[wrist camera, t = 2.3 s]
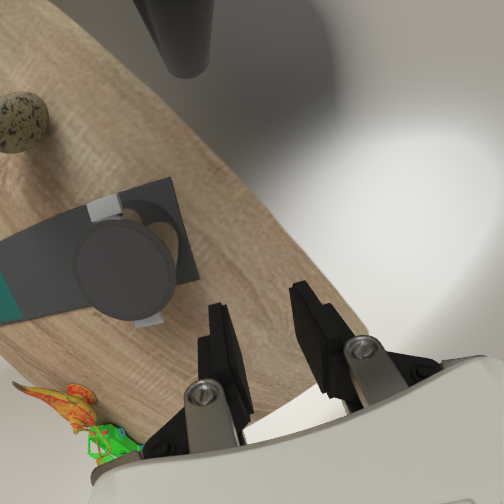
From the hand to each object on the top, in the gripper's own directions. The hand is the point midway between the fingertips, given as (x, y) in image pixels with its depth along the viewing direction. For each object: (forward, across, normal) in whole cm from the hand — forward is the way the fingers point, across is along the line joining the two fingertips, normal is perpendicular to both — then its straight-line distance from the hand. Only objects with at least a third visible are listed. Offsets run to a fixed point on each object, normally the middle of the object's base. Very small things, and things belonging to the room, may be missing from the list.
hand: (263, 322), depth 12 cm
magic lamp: (+17, +30, +19) cm, 40 cm away
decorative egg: (+17, +17, -16) cm, 29 cm away
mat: (+17, +22, 0) cm, 28 cm away
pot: (+17, +10, 0) cm, 19 cm away
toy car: (+17, +30, +34) cm, 48 cm away
